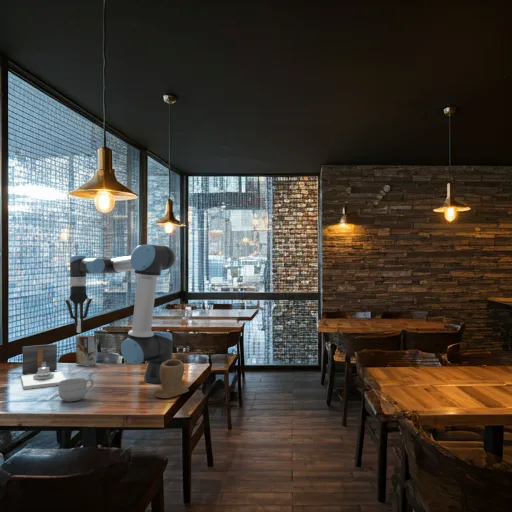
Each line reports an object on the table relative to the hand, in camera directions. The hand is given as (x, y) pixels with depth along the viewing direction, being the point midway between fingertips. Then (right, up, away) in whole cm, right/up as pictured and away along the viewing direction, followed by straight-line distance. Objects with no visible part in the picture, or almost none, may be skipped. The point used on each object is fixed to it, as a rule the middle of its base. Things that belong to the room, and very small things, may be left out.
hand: (78, 332), depth 229 cm
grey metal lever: (-14, -20, -7) cm, 25 cm away
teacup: (+16, -20, -43) cm, 50 cm away
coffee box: (-6, -23, +25) cm, 34 cm away
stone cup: (+55, -20, -39) cm, 70 cm away
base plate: (-12, -21, -13) cm, 28 cm away
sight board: (-23, -22, +6) cm, 32 cm away
